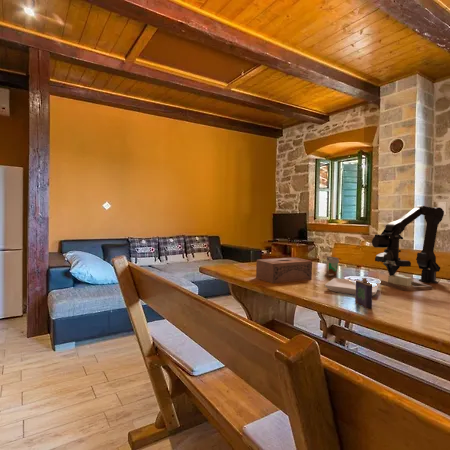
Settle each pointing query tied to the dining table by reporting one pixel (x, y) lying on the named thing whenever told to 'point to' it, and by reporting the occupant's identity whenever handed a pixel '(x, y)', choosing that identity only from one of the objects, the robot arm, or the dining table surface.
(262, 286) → the dining table surface
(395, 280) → the T block
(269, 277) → the tissue box cover
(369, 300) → the flask
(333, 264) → the food container
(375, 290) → the salad plate
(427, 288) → the frame
